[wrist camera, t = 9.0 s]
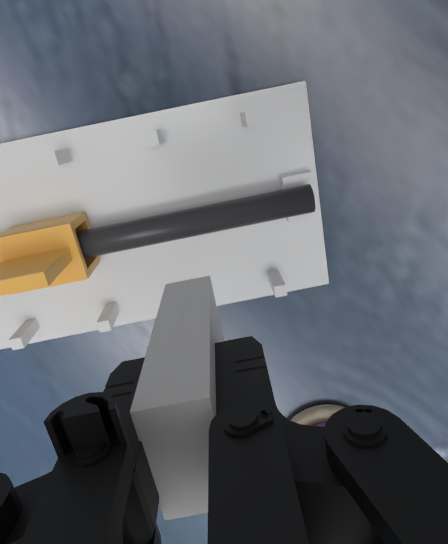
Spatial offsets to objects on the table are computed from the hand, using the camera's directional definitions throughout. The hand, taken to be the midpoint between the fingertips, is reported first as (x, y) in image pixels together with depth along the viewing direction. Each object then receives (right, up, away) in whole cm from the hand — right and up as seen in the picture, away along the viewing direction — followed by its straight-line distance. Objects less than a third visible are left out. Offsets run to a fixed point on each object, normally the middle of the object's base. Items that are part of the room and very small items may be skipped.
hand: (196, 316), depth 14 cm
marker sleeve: (-10, +3, +15) cm, 18 cm away
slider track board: (-5, +5, +16) cm, 18 cm away
